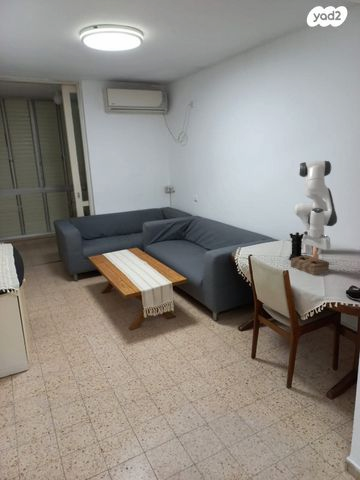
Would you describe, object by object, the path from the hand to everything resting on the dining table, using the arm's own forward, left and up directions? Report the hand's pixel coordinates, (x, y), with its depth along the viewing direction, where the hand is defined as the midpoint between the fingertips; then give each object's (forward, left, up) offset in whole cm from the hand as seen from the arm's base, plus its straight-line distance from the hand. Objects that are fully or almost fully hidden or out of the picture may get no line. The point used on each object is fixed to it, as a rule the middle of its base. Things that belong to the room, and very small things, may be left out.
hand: (315, 253), depth 219 cm
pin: (0, 0, -5) cm, 5 cm away
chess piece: (-23, +6, -12) cm, 27 cm away
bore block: (-5, 0, -12) cm, 13 cm away
